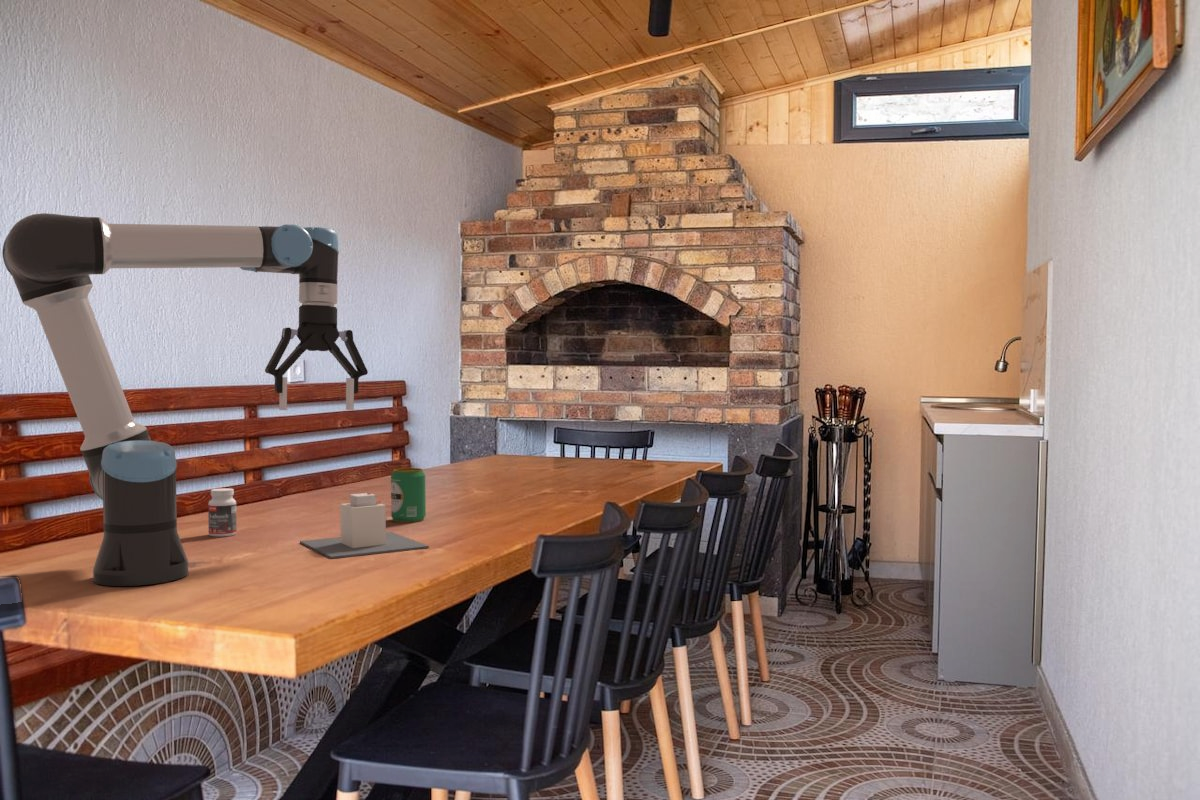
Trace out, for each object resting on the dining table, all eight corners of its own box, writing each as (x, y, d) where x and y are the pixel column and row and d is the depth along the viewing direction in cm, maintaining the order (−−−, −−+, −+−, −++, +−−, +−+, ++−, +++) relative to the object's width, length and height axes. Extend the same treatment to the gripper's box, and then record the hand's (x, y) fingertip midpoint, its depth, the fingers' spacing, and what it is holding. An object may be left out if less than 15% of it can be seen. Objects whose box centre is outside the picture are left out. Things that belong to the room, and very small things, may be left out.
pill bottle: (204, 537, 216) (203, 491, 216) (213, 532, 222) (213, 487, 222) (231, 537, 217) (231, 491, 216) (240, 532, 222) (239, 487, 222)
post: (331, 558, 192) (330, 502, 192) (300, 542, 209) (299, 491, 209) (428, 547, 203) (428, 495, 203) (391, 533, 220) (391, 484, 220)
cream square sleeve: (352, 547, 201) (351, 505, 201) (340, 542, 207) (340, 501, 207) (385, 544, 205) (385, 502, 205) (373, 539, 211) (373, 498, 211)
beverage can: (385, 519, 240) (384, 469, 239) (414, 516, 245) (413, 467, 244) (402, 523, 234) (402, 472, 233) (432, 520, 239) (431, 469, 238)
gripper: (259, 300, 195) (258, 410, 196) (383, 307, 208) (382, 410, 209) (250, 302, 201) (249, 409, 202) (371, 309, 215) (370, 408, 215)
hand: (316, 410), depth 205 cm, fingers open, 13 cm apart
